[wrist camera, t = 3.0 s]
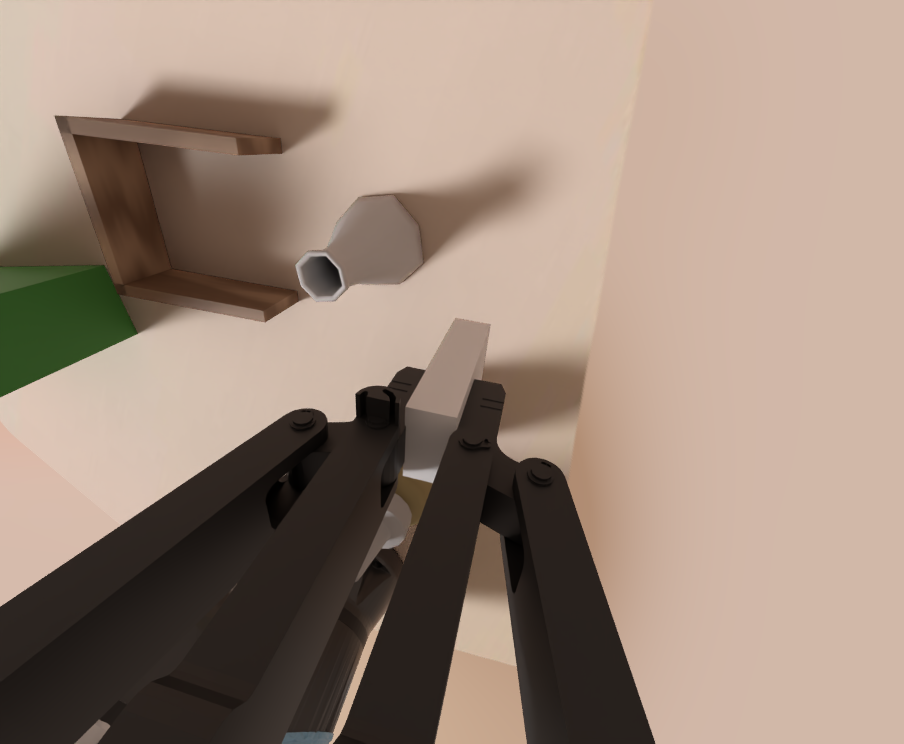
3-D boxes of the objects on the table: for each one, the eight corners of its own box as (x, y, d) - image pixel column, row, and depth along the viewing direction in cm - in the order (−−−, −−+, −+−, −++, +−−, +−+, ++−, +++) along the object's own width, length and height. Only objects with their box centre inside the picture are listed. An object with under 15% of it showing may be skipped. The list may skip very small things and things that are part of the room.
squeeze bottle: (467, 376, 37) (406, 542, 22) (469, 445, 41) (419, 626, 25) (384, 370, 38) (273, 520, 23) (394, 437, 42) (305, 602, 27)
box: (298, 301, 37) (264, 322, 32) (165, 277, 39) (117, 294, 34) (280, 138, 30) (235, 137, 26) (120, 119, 32) (54, 115, 28)
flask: (399, 176, 30) (338, 190, 21) (438, 268, 32) (398, 313, 24) (323, 215, 32) (242, 241, 24) (365, 296, 35) (306, 346, 27)
